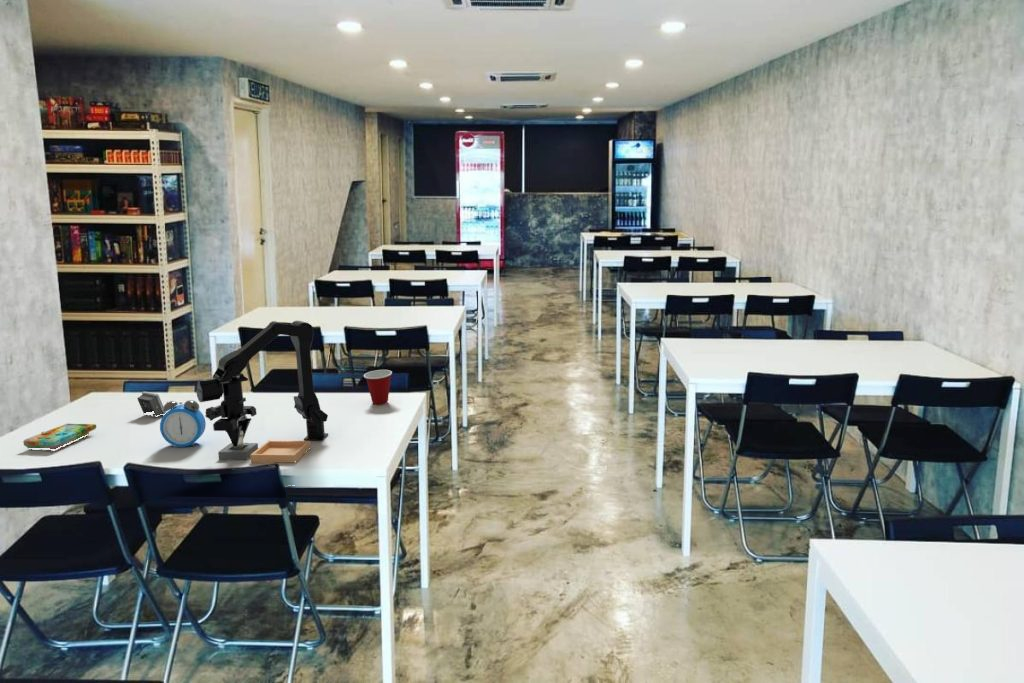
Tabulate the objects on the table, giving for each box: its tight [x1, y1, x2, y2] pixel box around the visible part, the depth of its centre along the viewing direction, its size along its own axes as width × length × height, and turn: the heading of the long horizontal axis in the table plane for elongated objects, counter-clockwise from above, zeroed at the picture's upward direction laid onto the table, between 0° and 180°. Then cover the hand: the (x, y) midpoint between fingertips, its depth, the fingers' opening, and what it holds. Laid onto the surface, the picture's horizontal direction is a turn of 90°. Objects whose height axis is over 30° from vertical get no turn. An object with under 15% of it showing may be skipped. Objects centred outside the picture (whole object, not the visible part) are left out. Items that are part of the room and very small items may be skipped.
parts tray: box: [250, 440, 311, 464], centre depth 260 cm, size 14×14×2 cm
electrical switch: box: [136, 391, 167, 416], centre depth 310 cm, size 9×5×9 cm, turn 57°
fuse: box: [232, 429, 245, 450], centre depth 261 cm, size 4×4×8 cm
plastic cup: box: [363, 369, 393, 406], centre depth 318 cm, size 11×11×12 cm
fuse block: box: [217, 442, 259, 461], centre depth 262 cm, size 9×9×2 cm
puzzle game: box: [22, 422, 97, 449], centre depth 281 cm, size 12×5×20 cm
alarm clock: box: [159, 399, 207, 448], centre depth 273 cm, size 13×6×15 cm, turn 93°
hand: (237, 444), depth 261 cm, fingers closed on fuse, 3 cm apart
